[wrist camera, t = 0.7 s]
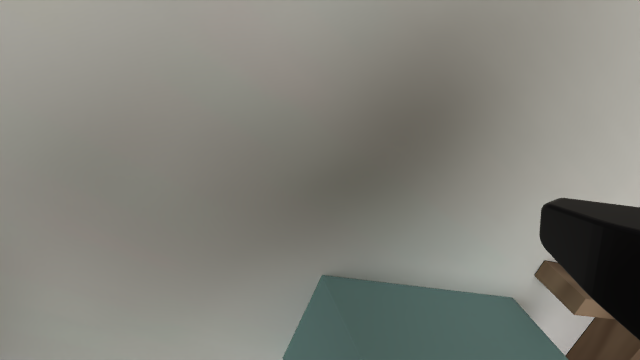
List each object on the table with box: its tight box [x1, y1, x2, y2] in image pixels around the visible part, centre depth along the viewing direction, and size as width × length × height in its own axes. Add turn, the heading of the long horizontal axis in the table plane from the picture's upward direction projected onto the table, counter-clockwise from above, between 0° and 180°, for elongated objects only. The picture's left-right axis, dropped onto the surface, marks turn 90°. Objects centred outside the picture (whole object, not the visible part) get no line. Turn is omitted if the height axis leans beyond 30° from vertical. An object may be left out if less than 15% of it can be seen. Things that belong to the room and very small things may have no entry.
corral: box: [535, 261, 640, 360], centre depth 35 cm, size 10×12×4 cm
